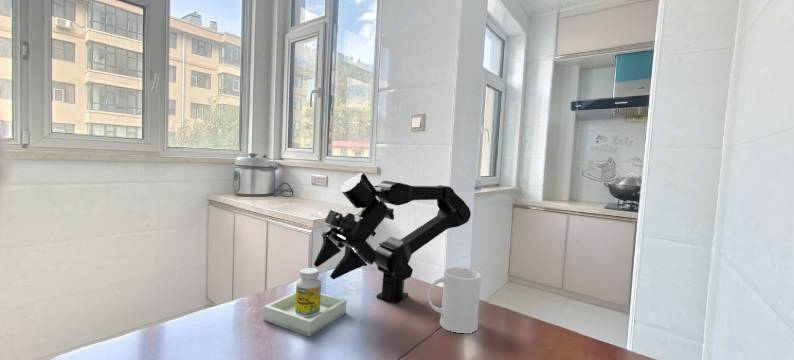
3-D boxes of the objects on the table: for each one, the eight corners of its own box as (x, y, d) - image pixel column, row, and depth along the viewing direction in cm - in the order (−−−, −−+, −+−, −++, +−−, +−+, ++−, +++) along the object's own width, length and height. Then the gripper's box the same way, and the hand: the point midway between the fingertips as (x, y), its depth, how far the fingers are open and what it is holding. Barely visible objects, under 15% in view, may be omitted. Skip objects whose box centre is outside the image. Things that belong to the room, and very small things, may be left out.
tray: (303, 300, 84) (304, 288, 84) (345, 313, 78) (346, 300, 78) (263, 319, 72) (264, 306, 72) (309, 336, 67) (309, 321, 67)
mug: (427, 332, 72) (431, 277, 71) (423, 314, 80) (427, 264, 80) (482, 335, 72) (486, 280, 71) (472, 317, 81) (476, 267, 80)
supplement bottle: (321, 308, 78) (324, 267, 78) (317, 318, 73) (319, 275, 72) (298, 306, 78) (300, 266, 78) (291, 317, 73) (294, 273, 72)
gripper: (330, 193, 87) (285, 240, 81) (367, 203, 72) (316, 261, 66) (356, 222, 92) (315, 267, 86) (395, 237, 77) (350, 293, 71)
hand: (323, 271), depth 77 cm, fingers open, 9 cm apart
